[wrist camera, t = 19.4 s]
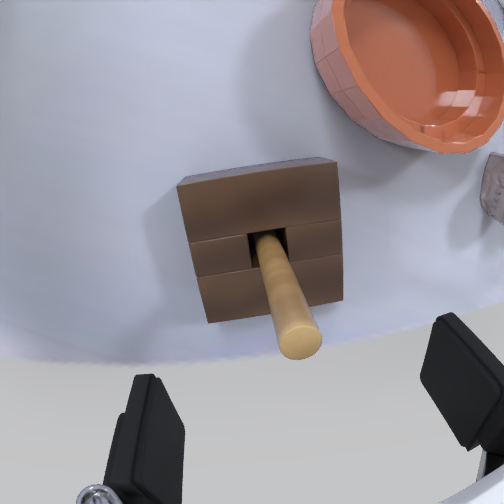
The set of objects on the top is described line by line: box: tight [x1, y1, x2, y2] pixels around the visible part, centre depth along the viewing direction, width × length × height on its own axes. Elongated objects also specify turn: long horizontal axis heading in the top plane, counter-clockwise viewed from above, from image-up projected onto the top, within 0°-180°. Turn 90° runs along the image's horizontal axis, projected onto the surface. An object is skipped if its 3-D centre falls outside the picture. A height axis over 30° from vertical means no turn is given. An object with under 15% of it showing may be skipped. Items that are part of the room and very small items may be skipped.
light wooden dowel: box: [253, 229, 322, 360], centre depth 19 cm, size 2×2×14 cm
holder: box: [177, 157, 343, 323], centre depth 23 cm, size 11×11×4 cm
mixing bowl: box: [310, 0, 504, 153], centre depth 17 cm, size 17×17×6 cm
